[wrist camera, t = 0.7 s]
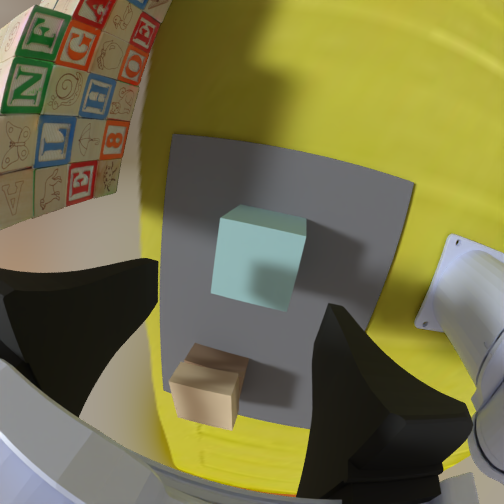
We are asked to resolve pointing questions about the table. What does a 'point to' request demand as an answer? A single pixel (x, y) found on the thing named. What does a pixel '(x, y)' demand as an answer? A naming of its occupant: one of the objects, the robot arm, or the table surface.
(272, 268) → the teal cube
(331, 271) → the rubber mat
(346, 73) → the table surface
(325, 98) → the table surface
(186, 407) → the oak slab
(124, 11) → the stack of blocks
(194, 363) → the walnut slab
